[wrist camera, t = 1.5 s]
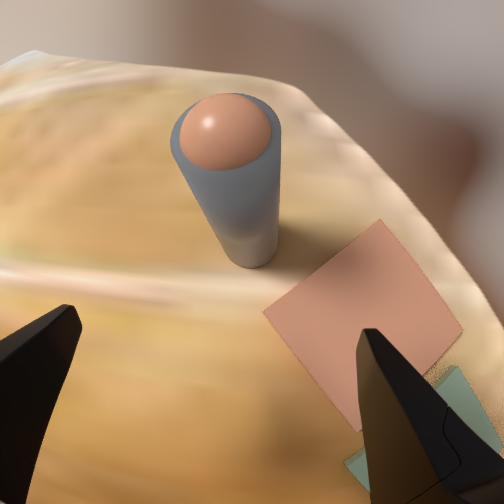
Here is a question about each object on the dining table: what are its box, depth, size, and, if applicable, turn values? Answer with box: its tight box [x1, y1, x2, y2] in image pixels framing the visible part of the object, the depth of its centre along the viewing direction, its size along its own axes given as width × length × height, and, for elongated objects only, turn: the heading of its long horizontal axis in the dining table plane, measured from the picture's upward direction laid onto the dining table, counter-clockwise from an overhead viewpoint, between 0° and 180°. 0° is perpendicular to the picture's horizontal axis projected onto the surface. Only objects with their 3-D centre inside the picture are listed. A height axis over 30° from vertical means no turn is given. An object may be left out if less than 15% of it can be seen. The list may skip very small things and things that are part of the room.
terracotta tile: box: [262, 219, 463, 433], centre depth 20 cm, size 11×11×1 cm
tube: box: [170, 93, 281, 268], centre depth 16 cm, size 4×4×14 cm
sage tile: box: [344, 366, 504, 493], centre depth 17 cm, size 11×11×1 cm
